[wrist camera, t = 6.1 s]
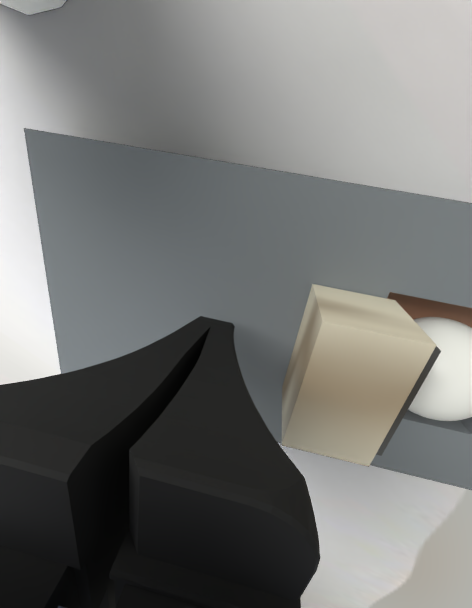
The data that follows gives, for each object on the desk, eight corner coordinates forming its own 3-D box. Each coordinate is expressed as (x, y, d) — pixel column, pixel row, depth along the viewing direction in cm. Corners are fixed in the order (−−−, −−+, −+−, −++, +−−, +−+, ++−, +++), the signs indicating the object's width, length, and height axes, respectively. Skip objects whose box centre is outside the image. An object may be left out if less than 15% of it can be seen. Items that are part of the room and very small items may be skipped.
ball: (377, 428, 10) (356, 364, 14) (492, 458, 10) (439, 384, 13) (424, 338, 9) (386, 292, 12) (565, 370, 8) (483, 312, 12)
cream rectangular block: (359, 404, 12) (380, 469, 9) (282, 387, 12) (281, 445, 10) (406, 302, 10) (452, 348, 7) (312, 283, 10) (322, 321, 7)
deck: (446, 445, 15) (473, 490, 13) (92, 361, 17) (63, 389, 15) (600, 226, 10) (690, 239, 8) (73, 138, 12) (24, 128, 10)
